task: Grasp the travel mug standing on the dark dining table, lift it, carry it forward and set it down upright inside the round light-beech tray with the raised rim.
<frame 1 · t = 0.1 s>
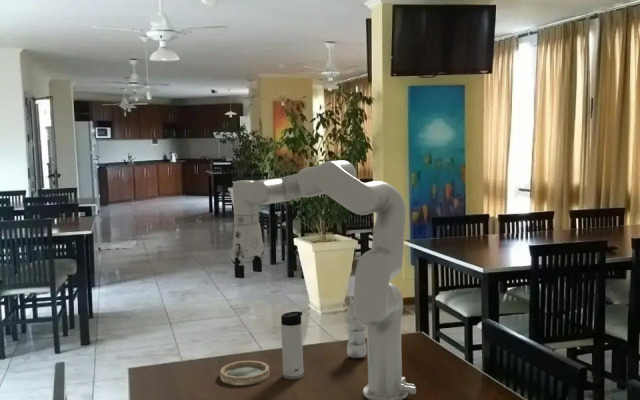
hand: (248, 274, 193), 31 cm above the table, tool pointing down, fingers open, 9 cm apart
travel mug: (293, 376, 190), on the table
plastic bottle: (357, 357, 206), on the table
round tray: (245, 376, 192), on the table
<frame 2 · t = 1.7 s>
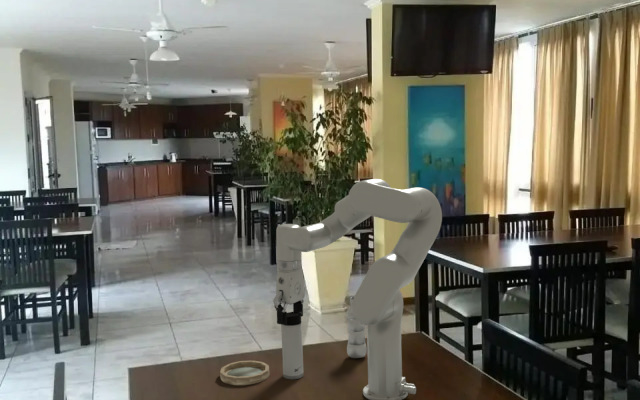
hand: (290, 319, 189), 18 cm above the table, tool pointing down, fingers open, 9 cm apart
nothing on the table moved.
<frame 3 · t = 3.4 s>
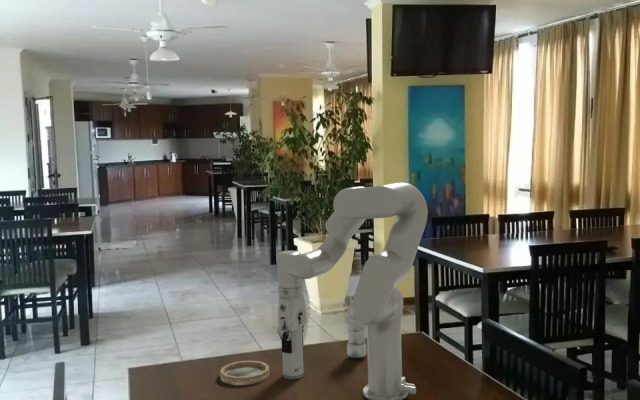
hand: (292, 348, 190), 9 cm above the table, tool pointing down, fingers closed on travel mug, 6 cm apart
travel mug: (293, 376, 190), on the table, touching gripper
everything else where it was.
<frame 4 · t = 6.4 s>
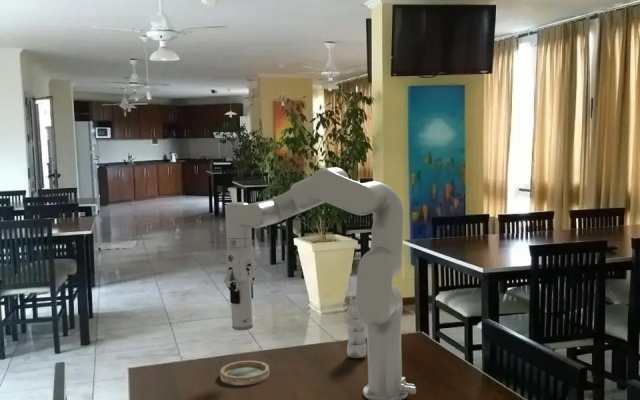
hand: (241, 300, 190), 24 cm above the table, tool pointing down, fingers closed on travel mug, 6 cm apart
travel mug: (243, 328, 190), point 15 cm above the table, touching gripper
everything else where it was.
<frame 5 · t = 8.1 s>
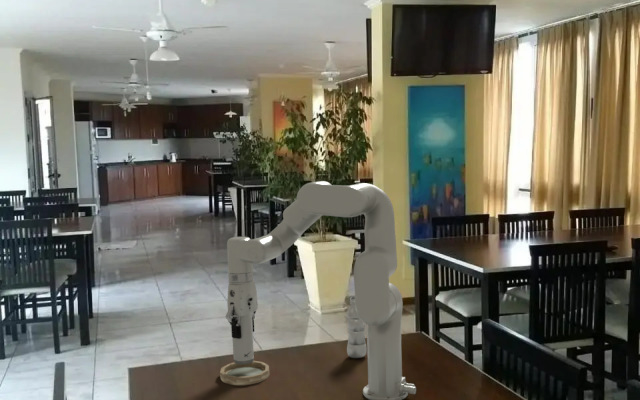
hand: (243, 334, 191), 13 cm above the table, tool pointing down, fingers closed on travel mug, 6 cm apart
travel mug: (244, 362, 191), point 4 cm above the table, touching gripper
everything else where it was.
when the fingers open (11 cm above the table, at t = 9.6 s): travel mug drops 1 cm, resting on round tray.
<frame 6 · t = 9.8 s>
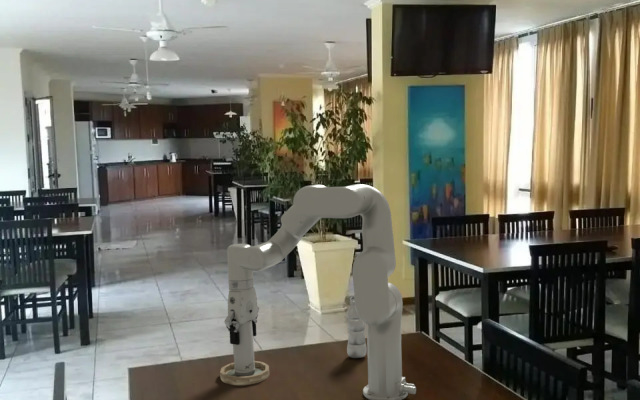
hand: (243, 339, 191), 12 cm above the table, tool pointing down, fingers open, 8 cm apart
travel mug: (245, 373, 191), point 1 cm above the table, touching round tray
everything else where it was.
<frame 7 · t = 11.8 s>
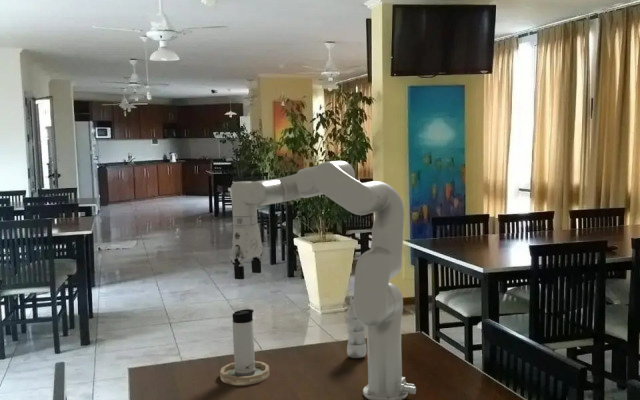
hand: (248, 275, 192), 31 cm above the table, tool pointing down, fingers open, 9 cm apart
nothing on the table moved.
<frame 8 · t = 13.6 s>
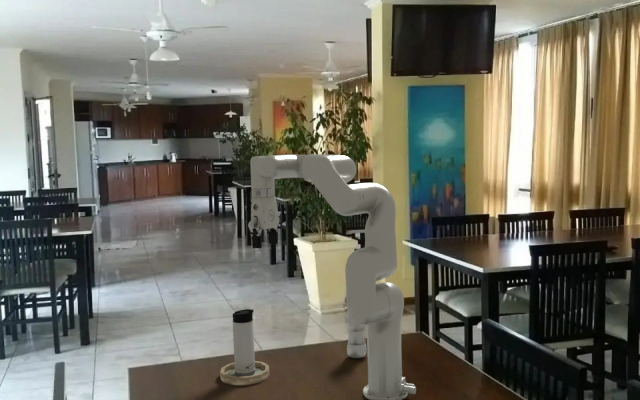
hand: (265, 245, 203), 38 cm above the table, tool pointing down, fingers open, 9 cm apart
nothing on the table moved.
at the end: travel mug 0.2 cm from the round tray (horizontally); travel mug tilted 0°; the gripper is holding nothing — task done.
